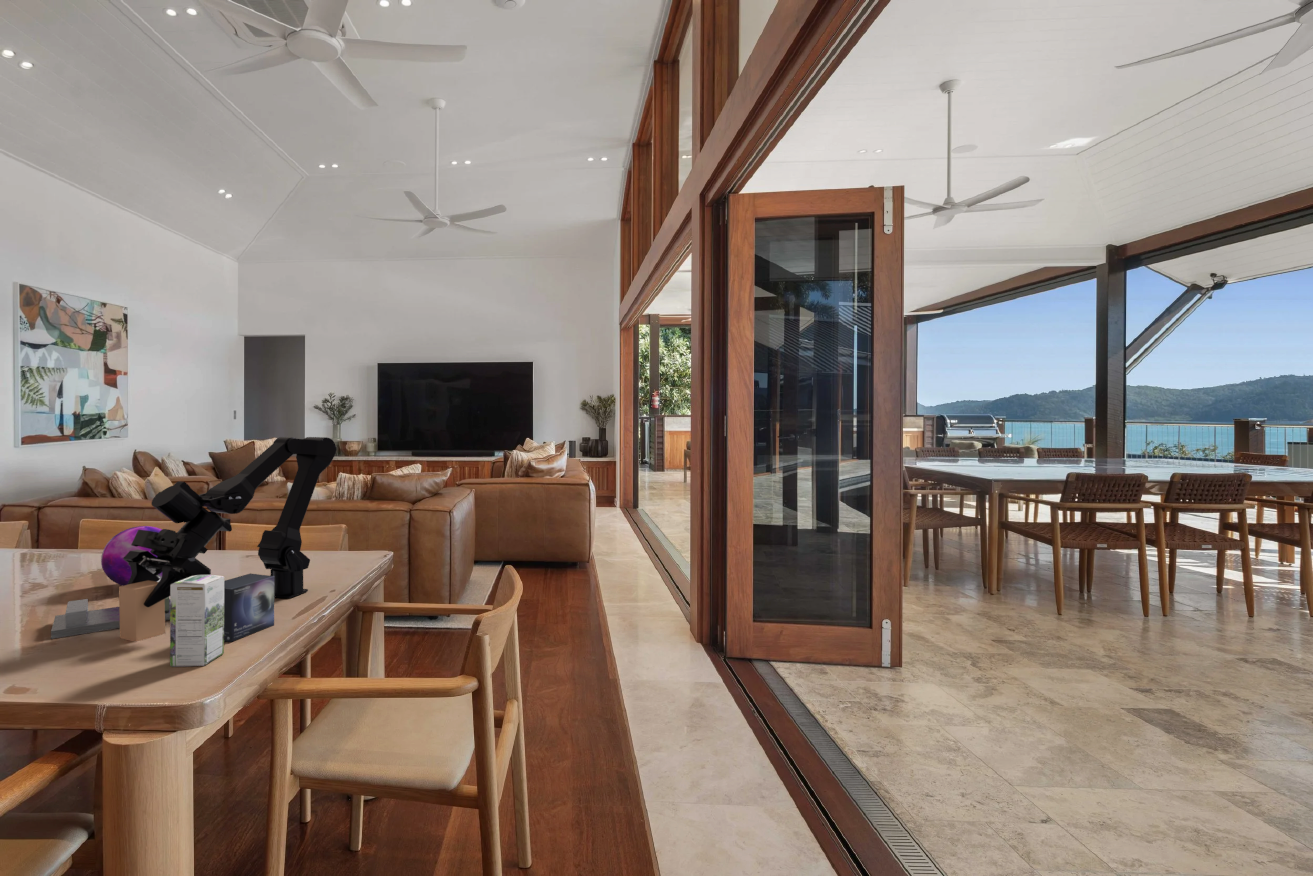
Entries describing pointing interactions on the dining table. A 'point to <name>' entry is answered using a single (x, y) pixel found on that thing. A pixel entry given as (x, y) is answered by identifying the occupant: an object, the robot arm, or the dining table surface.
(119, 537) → the decorative orb
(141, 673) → the dining table surface
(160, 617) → the tan rectangular block
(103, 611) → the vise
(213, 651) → the syrup box
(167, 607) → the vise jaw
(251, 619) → the small box
